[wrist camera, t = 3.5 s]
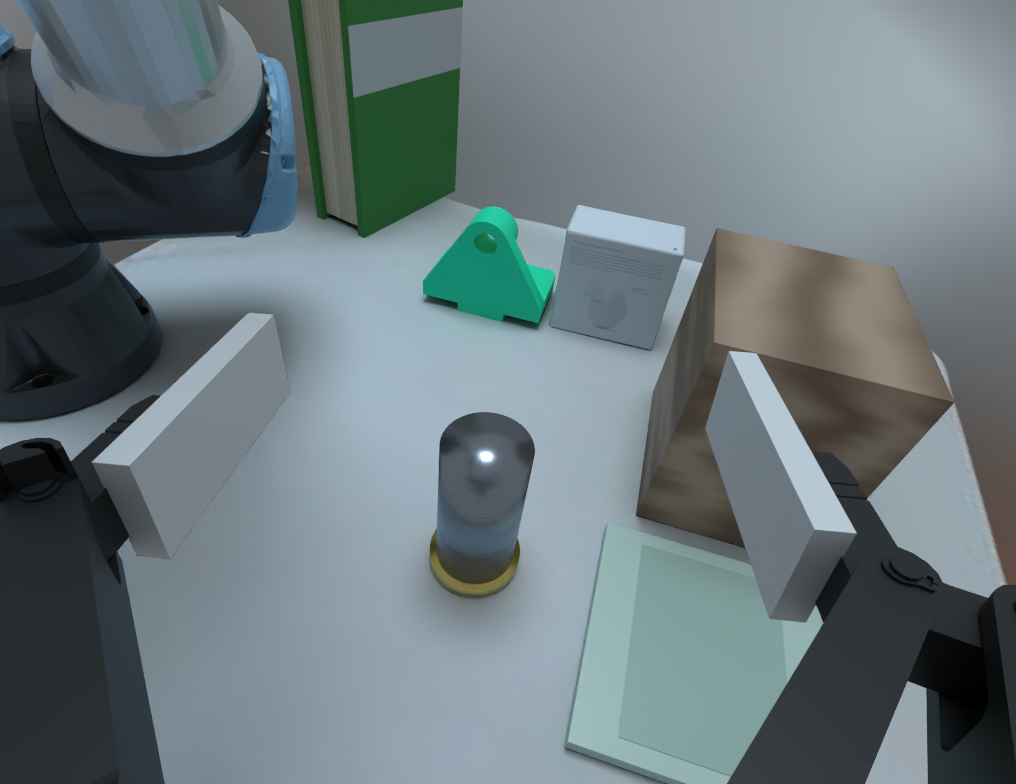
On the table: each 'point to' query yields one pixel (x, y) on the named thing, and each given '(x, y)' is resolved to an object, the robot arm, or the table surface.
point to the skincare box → (616, 276)
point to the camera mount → (490, 272)
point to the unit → (789, 371)
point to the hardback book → (379, 104)
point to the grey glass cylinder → (480, 503)
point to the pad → (678, 660)
